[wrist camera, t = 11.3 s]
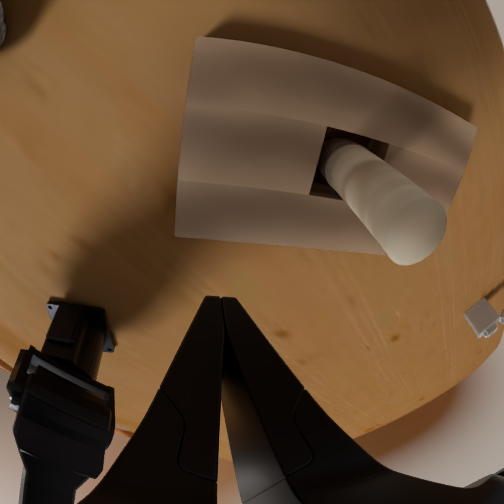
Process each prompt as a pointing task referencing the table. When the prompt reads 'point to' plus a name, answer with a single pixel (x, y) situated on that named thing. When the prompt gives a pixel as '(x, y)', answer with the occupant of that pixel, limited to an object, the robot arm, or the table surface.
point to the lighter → (483, 318)
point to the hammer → (2, 25)
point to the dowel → (384, 201)
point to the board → (298, 145)
